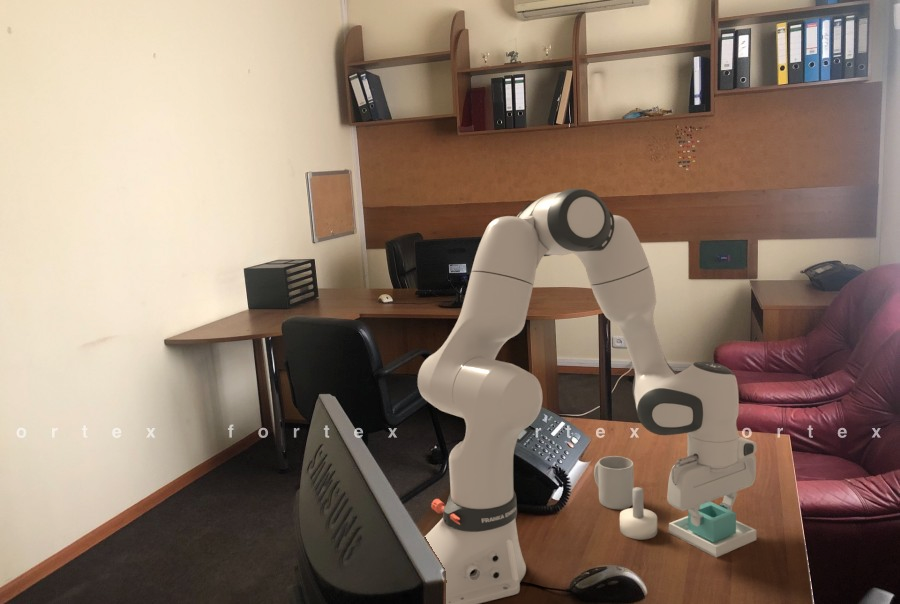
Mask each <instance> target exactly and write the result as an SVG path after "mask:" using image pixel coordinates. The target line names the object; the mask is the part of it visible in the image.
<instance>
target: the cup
mask: <svg viewBox="0 0 900 604" xmlns="http://www.w3.org/2000/svg"><path fill="white" fill-rule="evenodd" d="M593 475H594V477H593V478H594V481H595V484H596V487H597V488H598V500H599V501H598V502H599V503H600V505H602V506H603V507H604V508H606V509H611V510H625V509H629V508H630V507H631V506H633V488H635V487H634V486H635V485H634V462H633V461H632V459H630V458H627V457H624V456H621V455H619V456H618V455H611V456H610V455H609V456H608V455H607V456H604V457H601V458H600V459H598V461H597V462H596V463H595V465H594V470H593Z"/></svg>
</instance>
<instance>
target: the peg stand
mask: <svg viewBox="0 0 900 604" xmlns="http://www.w3.org/2000/svg"><path fill="white" fill-rule="evenodd" d="M644 505H645V504H644V488H643V487H634V488H633V504H632V507H631V508H630V507H629V508H626V509H622V510H621V511H620V513H619V532H620V533H621V534H622V535H623V536H625V537H626V538H629V539H633V540H643V541H644V540H649V539H652V538H654V537H656V536H657V534H658V516H657V514H656V512H653V511H652V510H649V509H647V508H644Z"/></svg>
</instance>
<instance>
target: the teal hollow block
mask: <svg viewBox="0 0 900 604" xmlns="http://www.w3.org/2000/svg"><path fill="white" fill-rule="evenodd" d="M698 512H699V514H700V515H702V516H704V520H703V521H704V524H702V525H700V526H695V525H693V524H692V523H691V515H690V513H689V511H688V510H687V516H688V529H689V530H691V531H692V532H694V533H696V534H698V535H700V536H702V537H704V538H706V539H708V540H710V541H712V542H716V541H718V540H721V539H723V538H726V537H728V536H730V535H733V534H735V533H736V521H737V513H736V512H734V511H733V510H732V511H730V510H728V509H726V508H724V507H721V506H720V504H717V503H715V502H712V501H710V502H707V503H704V504H702V505H700V510H698Z"/></svg>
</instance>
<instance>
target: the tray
mask: <svg viewBox="0 0 900 604" xmlns="http://www.w3.org/2000/svg"><path fill="white" fill-rule="evenodd" d="M757 531H758V530H757V529H755V528H754V527H751V526H749V525H747V524H744V523H743V522H741V521H738V520H736V533H735V534H733V535H730V536H728V537H726V538H723V539H721V540H718V541H716V542H712V541H710V540H708V539H706V538H704V537H702V536H700V535H698V534H696V533H694V532H692V531H691V530H689V529H688V515H686V516H684V517H681V518H679V519H677V520H673V521H672V522H669V523H668V534H670V535H672V536H673V537H676V538H678V539H679V540H682V541H684V542H685V543H688V544H689V545H691V546H693V547H695V548H697V549H698V550H700V551H703V552H704V553H707V554H708V555H709V556H711V557H714V558H718V557H721V556H723V555H725V554H728V553H730V552H731V551H734V550H737V549H738V548H741V547H743V546H746V545H748V544H750V543H753V542H754V541H757Z"/></svg>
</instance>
